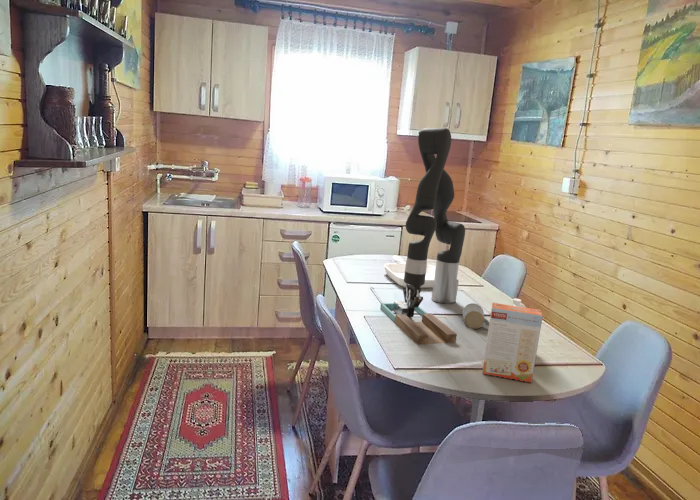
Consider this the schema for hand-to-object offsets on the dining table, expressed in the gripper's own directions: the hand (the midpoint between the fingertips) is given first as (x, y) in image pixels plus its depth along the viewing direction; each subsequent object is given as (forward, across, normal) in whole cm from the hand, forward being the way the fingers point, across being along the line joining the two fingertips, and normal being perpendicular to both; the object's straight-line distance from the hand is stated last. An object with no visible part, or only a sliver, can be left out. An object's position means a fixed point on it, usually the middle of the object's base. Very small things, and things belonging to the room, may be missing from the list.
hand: (409, 316), depth 194 cm
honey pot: (+2, -28, -25) cm, 37 cm away
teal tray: (+2, +5, 0) cm, 5 cm away
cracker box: (+3, -44, -12) cm, 45 cm away
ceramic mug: (+2, -6, -24) cm, 25 cm away
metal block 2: (+2, +4, +1) cm, 4 cm away
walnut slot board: (+2, -12, 0) cm, 12 cm away
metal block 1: (+2, +8, 0) cm, 8 cm away
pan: (+2, +59, -26) cm, 65 cm away
